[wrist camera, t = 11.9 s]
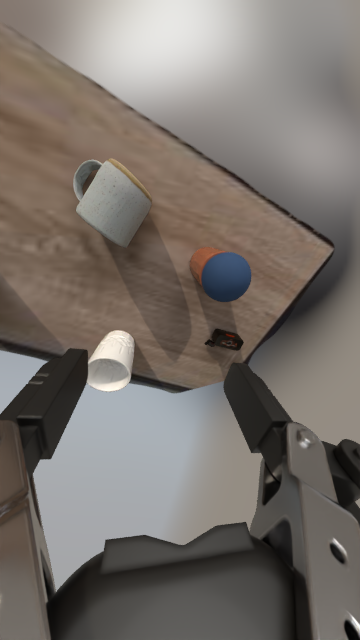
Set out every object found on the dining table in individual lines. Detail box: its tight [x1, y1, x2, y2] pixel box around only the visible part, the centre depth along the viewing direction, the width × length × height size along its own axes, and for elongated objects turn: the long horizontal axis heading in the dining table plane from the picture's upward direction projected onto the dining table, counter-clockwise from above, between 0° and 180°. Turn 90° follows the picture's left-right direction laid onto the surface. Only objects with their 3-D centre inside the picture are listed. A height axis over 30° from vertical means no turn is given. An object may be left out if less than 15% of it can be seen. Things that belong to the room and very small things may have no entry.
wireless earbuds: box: [205, 329, 244, 350], centre depth 39 cm, size 5×7×3 cm, turn 71°
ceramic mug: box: [73, 159, 152, 248], centre depth 23 cm, size 11×8×8 cm
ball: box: [201, 252, 251, 302], centre depth 23 cm, size 6×6×6 cm
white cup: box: [87, 330, 135, 392], centre depth 34 cm, size 8×8×10 cm
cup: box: [190, 247, 226, 288], centre depth 28 cm, size 6×6×9 cm
